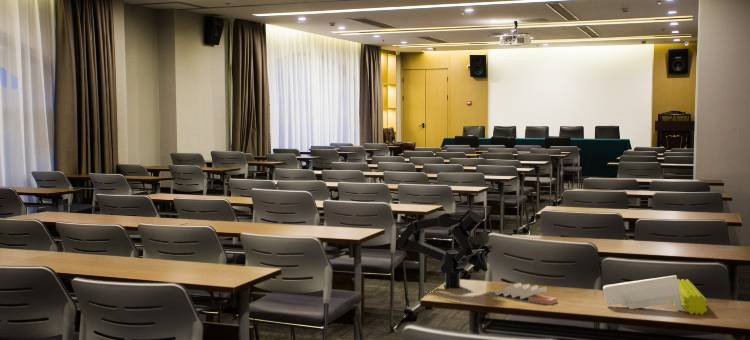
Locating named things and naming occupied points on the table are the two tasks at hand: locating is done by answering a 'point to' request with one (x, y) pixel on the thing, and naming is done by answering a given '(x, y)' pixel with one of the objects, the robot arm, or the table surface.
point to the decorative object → (691, 298)
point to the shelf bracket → (644, 293)
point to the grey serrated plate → (509, 297)
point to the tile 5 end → (542, 299)
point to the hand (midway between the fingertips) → (486, 270)
